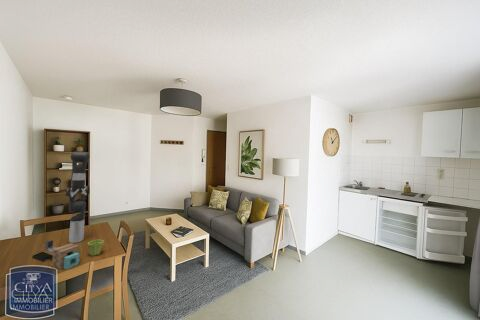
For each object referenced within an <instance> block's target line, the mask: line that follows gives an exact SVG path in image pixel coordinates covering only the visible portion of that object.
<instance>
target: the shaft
mask: <svg viewBox="0 0 480 320" xmlns="http://www.w3.org/2000/svg"><path fill="white" fill-rule="evenodd" d="M53 244H54V240H52V239H48V240H45V243H44V246H45V247H44V250H45V251H47V252H50V253H53V249H55V248H58V247H57V246H53ZM67 255H69V253H67Z"/></svg>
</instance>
